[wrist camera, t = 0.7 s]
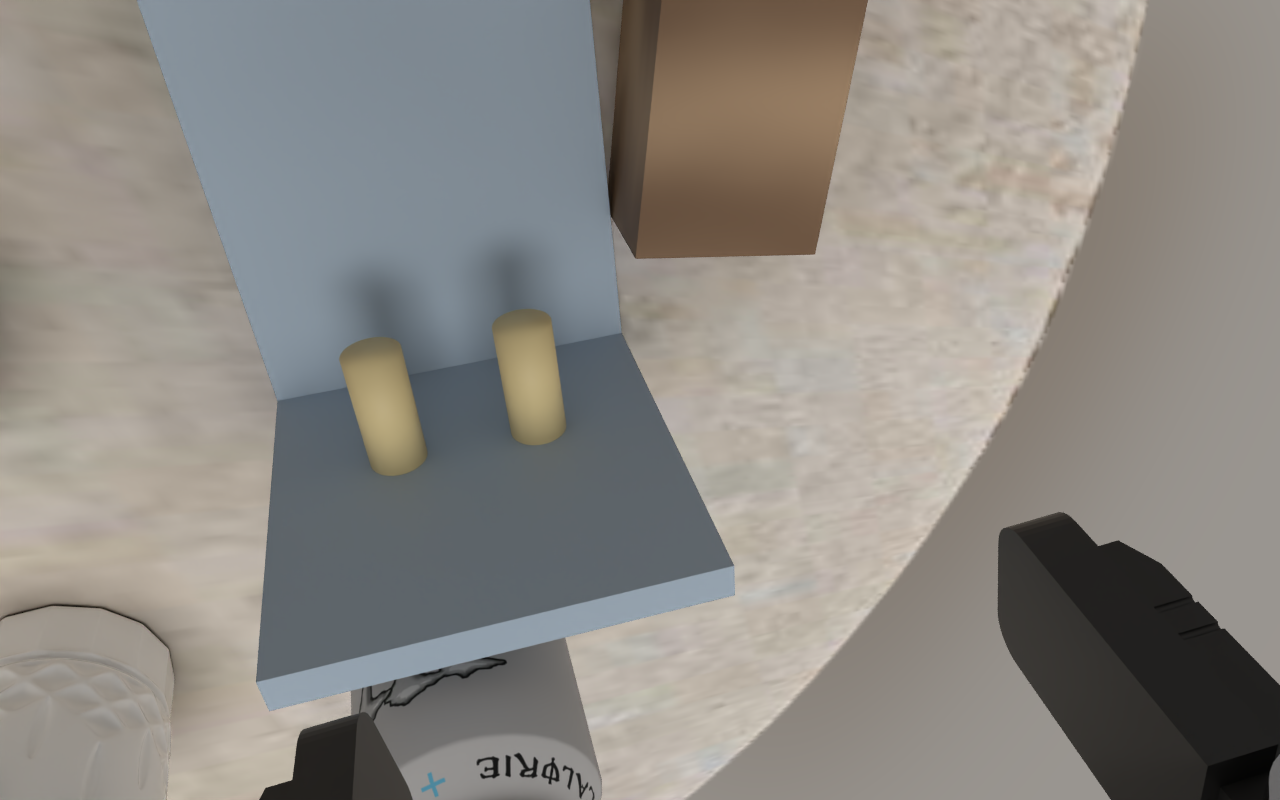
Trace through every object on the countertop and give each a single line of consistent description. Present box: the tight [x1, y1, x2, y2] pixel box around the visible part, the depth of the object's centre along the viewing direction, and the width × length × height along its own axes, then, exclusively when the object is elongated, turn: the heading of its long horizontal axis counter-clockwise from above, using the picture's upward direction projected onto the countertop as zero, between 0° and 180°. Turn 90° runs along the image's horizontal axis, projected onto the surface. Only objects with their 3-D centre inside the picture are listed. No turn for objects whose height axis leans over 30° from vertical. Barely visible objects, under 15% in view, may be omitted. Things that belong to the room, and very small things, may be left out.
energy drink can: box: [351, 638, 602, 800], centre depth 29 cm, size 6×6×15 cm
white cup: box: [0, 606, 175, 800], centre depth 31 cm, size 8×8×10 cm
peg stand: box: [137, 0, 735, 711], centre depth 22 cm, size 20×11×12 cm, turn 4°
